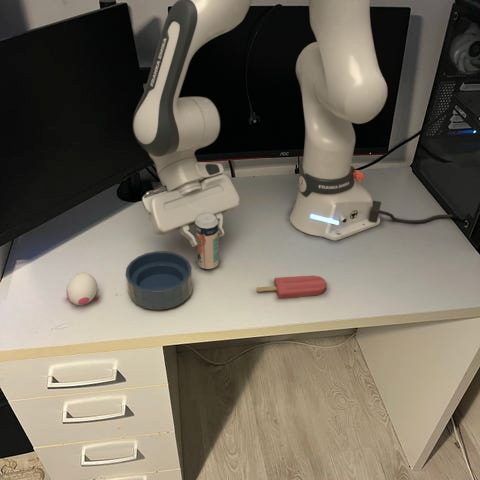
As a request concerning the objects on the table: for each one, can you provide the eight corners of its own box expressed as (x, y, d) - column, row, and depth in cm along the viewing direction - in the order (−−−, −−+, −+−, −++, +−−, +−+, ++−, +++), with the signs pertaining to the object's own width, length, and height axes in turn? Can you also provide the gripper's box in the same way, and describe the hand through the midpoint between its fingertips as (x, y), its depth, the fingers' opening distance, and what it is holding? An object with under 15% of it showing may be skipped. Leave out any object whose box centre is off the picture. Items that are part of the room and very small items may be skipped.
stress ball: (81, 299, 111) (58, 279, 107) (109, 283, 108) (86, 261, 104) (74, 323, 105) (49, 302, 101) (103, 306, 102) (78, 284, 99)
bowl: (182, 266, 115) (180, 246, 111) (200, 303, 106) (199, 282, 102) (123, 279, 111) (119, 258, 107) (137, 318, 102) (133, 297, 98)
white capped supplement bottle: (197, 257, 116) (194, 211, 108) (218, 256, 117) (217, 211, 108) (197, 271, 113) (195, 224, 105) (219, 270, 113) (218, 223, 105)
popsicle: (254, 278, 110) (323, 273, 111) (254, 284, 111) (322, 279, 112) (258, 295, 106) (329, 289, 107) (258, 300, 107) (328, 295, 109)
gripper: (142, 189, 102) (170, 253, 103) (228, 162, 110) (253, 222, 111) (134, 199, 107) (162, 260, 108) (217, 172, 116) (241, 229, 117)
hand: (209, 240), depth 110 cm, fingers closed on white capped supplement bottle, 5 cm apart
